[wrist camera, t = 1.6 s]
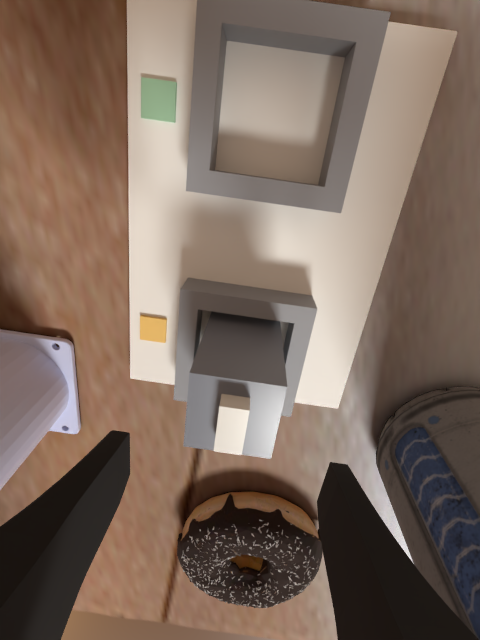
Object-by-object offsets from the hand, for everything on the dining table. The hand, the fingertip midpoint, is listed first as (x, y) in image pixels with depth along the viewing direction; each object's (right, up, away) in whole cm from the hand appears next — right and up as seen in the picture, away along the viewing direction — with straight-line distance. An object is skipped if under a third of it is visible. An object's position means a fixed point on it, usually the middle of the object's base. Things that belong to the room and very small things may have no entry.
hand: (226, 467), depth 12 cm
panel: (+1, +10, +7) cm, 12 cm away
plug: (+1, +4, +9) cm, 10 cm away
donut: (+1, -13, +18) cm, 22 cm away
